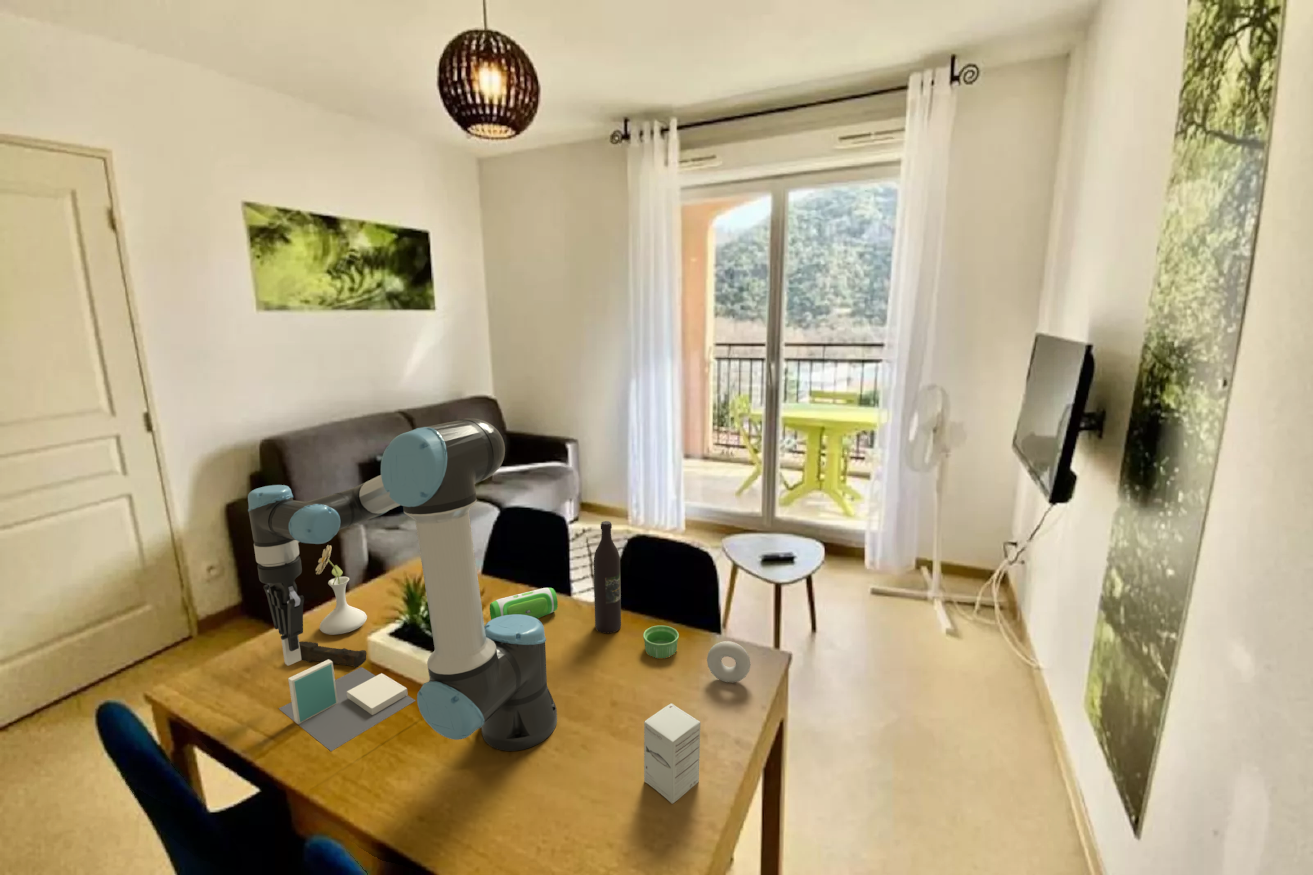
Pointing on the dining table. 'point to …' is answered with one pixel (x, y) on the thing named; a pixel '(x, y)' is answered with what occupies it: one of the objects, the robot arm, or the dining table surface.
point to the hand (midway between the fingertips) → (293, 661)
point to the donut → (734, 652)
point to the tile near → (313, 691)
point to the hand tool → (331, 654)
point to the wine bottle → (607, 583)
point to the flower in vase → (339, 603)
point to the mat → (345, 713)
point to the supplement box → (671, 752)
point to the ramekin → (660, 641)
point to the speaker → (526, 604)
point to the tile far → (377, 693)
